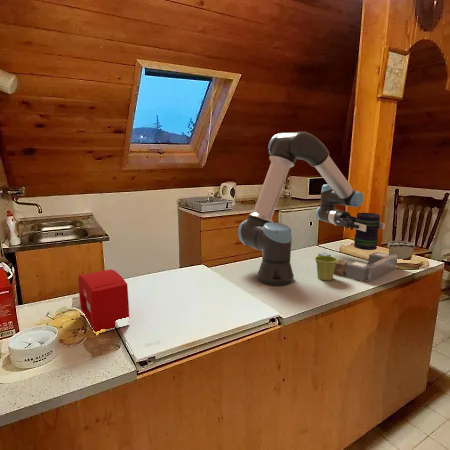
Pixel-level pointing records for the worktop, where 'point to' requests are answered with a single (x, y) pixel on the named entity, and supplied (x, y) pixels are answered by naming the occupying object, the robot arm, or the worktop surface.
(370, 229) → the rusty oil drum
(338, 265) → the walnut block
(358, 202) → the robot arm
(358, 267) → the module block
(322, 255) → the bluegrey block
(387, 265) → the rail
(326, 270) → the plant pot
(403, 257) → the food container
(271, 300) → the worktop surface
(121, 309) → the fire alarm
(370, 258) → the block
